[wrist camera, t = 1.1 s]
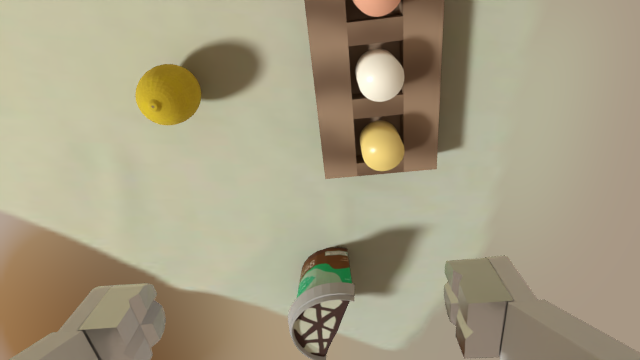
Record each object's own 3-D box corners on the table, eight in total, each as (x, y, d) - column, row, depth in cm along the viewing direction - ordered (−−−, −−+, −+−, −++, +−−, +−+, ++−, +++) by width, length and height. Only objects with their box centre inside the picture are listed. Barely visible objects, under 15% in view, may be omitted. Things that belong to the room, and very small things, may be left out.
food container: (305, 229, 48) (301, 285, 39) (350, 240, 49) (355, 297, 40) (284, 295, 54) (276, 357, 45) (324, 304, 54) (324, 366, 46)
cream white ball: (353, 50, 34) (356, 57, 31) (397, 46, 34) (404, 52, 31) (356, 93, 36) (359, 104, 33) (397, 89, 36) (404, 99, 33)
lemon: (211, 63, 38) (185, 82, 31) (208, 114, 41) (183, 142, 34) (157, 52, 37) (118, 68, 30) (157, 104, 40) (122, 130, 33)
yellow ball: (358, 122, 37) (361, 135, 34) (398, 118, 37) (404, 131, 34) (360, 157, 39) (363, 172, 36) (398, 154, 39) (404, 169, 36)
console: (300, -55, 33) (297, -59, 30) (436, -73, 32) (447, -79, 29) (325, 164, 43) (325, 178, 40) (428, 155, 42) (436, 168, 39)
